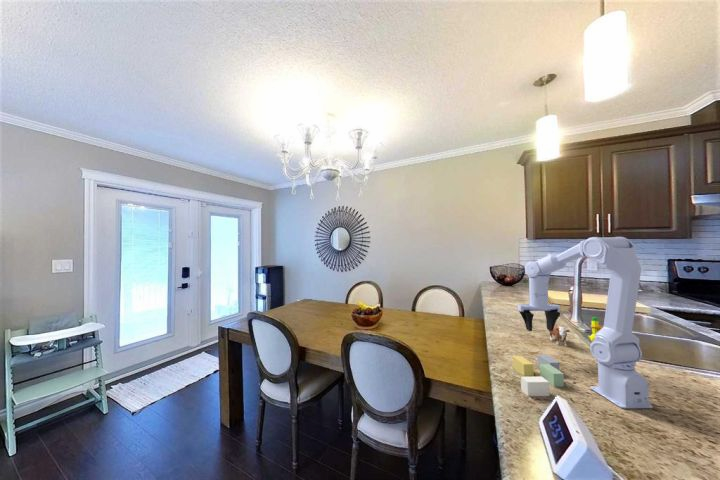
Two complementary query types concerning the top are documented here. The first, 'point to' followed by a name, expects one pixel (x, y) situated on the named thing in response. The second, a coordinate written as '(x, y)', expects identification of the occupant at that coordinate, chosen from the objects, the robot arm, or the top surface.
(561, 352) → the top surface
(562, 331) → the bull figurine
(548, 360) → the grey brick
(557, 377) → the green brick
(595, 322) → the toy figure
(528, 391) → the cream brick
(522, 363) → the mustard brick
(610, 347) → the robot arm
